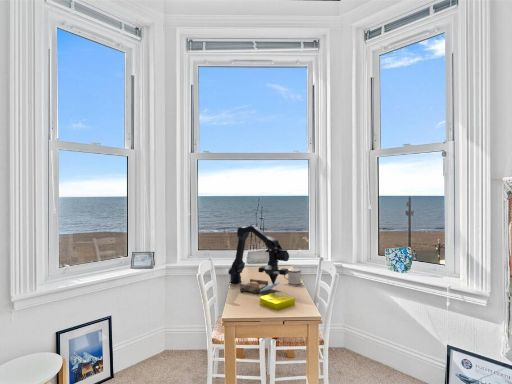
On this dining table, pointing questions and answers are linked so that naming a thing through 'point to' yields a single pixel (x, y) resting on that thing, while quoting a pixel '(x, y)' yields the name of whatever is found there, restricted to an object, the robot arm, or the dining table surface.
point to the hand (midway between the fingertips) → (273, 284)
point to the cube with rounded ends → (254, 283)
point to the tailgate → (269, 286)
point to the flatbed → (254, 288)
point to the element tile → (277, 301)
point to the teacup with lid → (294, 275)
